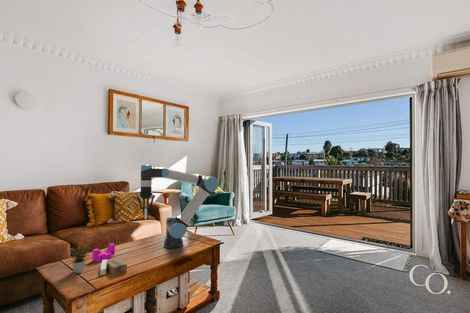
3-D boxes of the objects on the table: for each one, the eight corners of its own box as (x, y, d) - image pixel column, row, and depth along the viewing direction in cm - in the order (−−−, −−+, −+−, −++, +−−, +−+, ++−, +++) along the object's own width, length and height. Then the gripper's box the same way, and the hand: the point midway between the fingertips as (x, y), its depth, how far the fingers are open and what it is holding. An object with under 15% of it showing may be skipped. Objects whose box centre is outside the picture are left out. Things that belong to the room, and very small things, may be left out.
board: (107, 264, 166) (107, 259, 166) (105, 274, 152) (105, 268, 152) (102, 265, 165) (102, 259, 165) (100, 275, 150) (100, 269, 151)
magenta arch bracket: (98, 262, 170) (99, 251, 170) (92, 260, 172) (92, 249, 172) (117, 254, 184) (117, 244, 184) (111, 253, 186) (111, 243, 186)
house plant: (62, 279, 145) (63, 250, 145) (61, 270, 156) (62, 244, 157) (91, 272, 154) (91, 245, 154) (88, 265, 165) (88, 239, 165)
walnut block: (119, 266, 164) (120, 258, 164) (126, 272, 155) (126, 264, 156) (106, 269, 159) (106, 261, 159) (112, 276, 150) (113, 267, 150)
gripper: (155, 185, 189) (154, 217, 189) (136, 185, 185) (135, 218, 184) (155, 186, 182) (155, 219, 182) (136, 186, 178) (135, 220, 177)
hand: (145, 218), depth 183 cm, fingers closed
